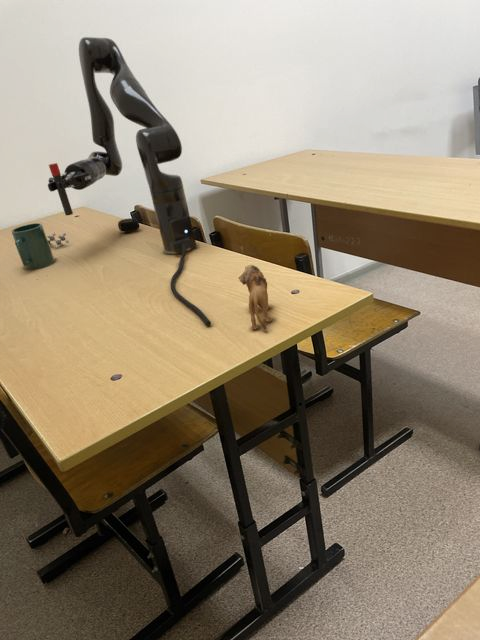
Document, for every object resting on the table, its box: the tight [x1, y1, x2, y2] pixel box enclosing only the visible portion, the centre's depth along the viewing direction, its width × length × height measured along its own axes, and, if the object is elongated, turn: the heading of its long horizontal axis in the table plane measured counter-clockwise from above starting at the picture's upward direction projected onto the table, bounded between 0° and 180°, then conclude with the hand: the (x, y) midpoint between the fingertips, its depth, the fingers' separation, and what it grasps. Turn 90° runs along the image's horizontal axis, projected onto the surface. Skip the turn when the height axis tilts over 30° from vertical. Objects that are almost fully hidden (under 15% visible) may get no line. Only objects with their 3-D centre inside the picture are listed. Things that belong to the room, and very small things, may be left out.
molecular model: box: [46, 232, 70, 249], centre depth 176 cm, size 14×4×5 cm, turn 78°
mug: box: [10, 222, 55, 270], centre depth 157 cm, size 12×9×12 cm
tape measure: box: [117, 217, 140, 234], centre depth 180 cm, size 7×7×4 cm
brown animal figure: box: [238, 264, 273, 331], centre depth 103 cm, size 15×5×9 cm, turn 10°
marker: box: [48, 162, 74, 216], centre depth 149 cm, size 2×2×14 cm
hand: (54, 187), depth 146 cm, fingers closed on marker, 2 cm apart
